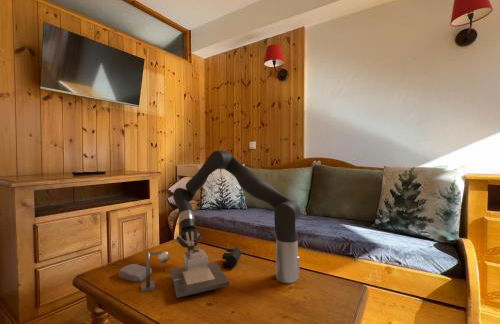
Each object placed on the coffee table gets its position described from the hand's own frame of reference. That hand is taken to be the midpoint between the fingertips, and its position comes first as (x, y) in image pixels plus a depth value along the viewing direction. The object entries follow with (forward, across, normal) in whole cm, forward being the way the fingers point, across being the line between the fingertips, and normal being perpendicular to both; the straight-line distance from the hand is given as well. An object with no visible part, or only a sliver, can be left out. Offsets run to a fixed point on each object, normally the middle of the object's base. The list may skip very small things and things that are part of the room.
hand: (191, 254), depth 113 cm
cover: (+9, 0, -4) cm, 10 cm away
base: (+14, 0, -4) cm, 15 cm away
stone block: (+2, -23, +9) cm, 25 cm away
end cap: (+7, +19, +4) cm, 21 cm away
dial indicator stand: (+11, -16, -1) cm, 20 cm away
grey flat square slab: (+13, 0, -6) cm, 14 cm away
